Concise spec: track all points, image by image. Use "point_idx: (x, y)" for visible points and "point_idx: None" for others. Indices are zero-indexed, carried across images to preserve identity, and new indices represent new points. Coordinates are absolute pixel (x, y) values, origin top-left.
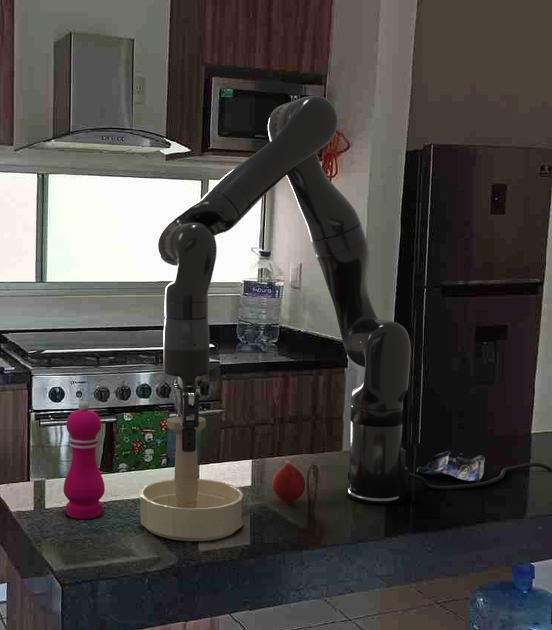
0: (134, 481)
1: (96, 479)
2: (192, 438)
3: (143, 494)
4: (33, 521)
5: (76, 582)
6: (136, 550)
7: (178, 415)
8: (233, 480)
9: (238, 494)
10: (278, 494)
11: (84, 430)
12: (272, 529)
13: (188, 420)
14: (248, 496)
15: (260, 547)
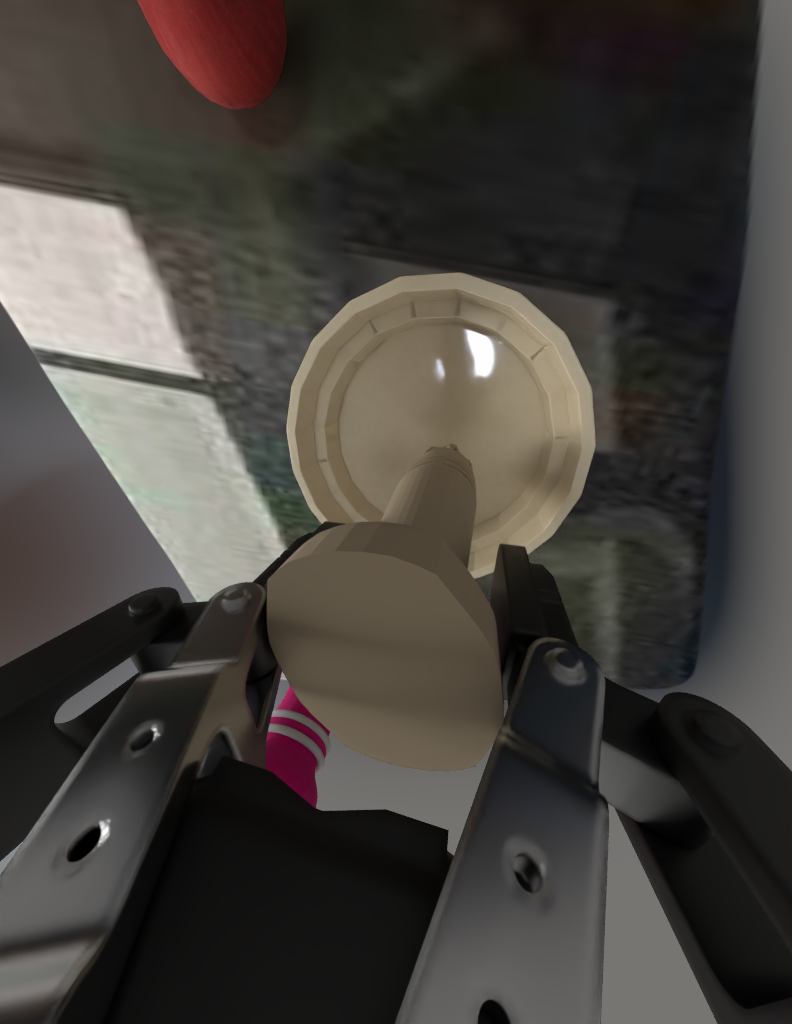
0: (180, 503)
1: None
2: (560, 615)
3: None
4: None
5: (688, 677)
6: (565, 570)
7: (275, 690)
8: (101, 264)
9: (427, 292)
10: (270, 91)
11: (314, 805)
12: (505, 189)
13: (703, 836)
14: (216, 234)
15: (655, 267)
